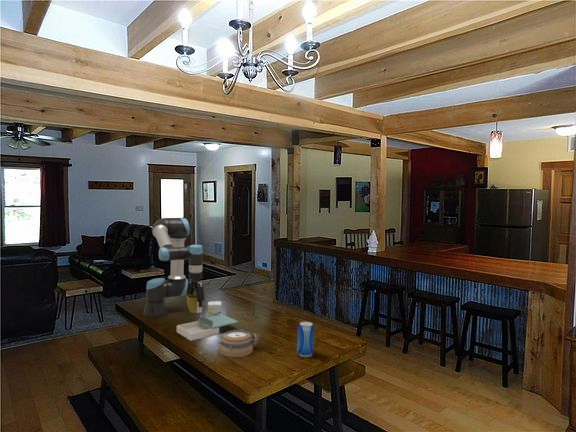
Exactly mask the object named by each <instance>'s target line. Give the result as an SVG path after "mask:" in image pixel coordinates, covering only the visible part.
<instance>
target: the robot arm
mask: <svg viewBox="0 0 576 432" xmlns="http://www.w3.org/2000/svg"><path fill="white" fill-rule="evenodd" d="M190 230H191V229H190V223H189V221H188V219H187V218H184V217H164V218H163V217H162V218H159V219H158V220H157V221H155V222H154V224H153V225H152V228H151V233H152V236H153V237H155V238H156V241H157V243H158V246H159V249H158V258H159V260H160V261H164V262H168V261H170V275H168V277H167V279H165V278H164V277H157V278H152V279H150V280H147V282H146V303H145V306H144V309H143V316H145V317H148V318H155V317H157V318H158V317H163V316H165V315H167V314H168V308H167V305H166V301H165V299H166V298H173V297H174V298H175V297H176V298H177V297H182V296H186V295H194V294H197V298H198V301H197V312H196V313H197V314H199V313H202V312H203V307H202V301H204V302H205V293H204V282H201V280H202V279H203V258H204V257H203V256H204V255H203V253H204V251H203V245H201V244H191V245H187V246H185V240H186V239H187V238H188V236H189V235H190V232H191V231H190ZM185 260H188V278H186V277H187V276H186V275H185V274H184V273H185V272H184V265H185ZM187 308H188V307H187ZM188 310H189V308H188Z"/></svg>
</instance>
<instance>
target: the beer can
mask: <svg viewBox="0 0 576 432" xmlns="http://www.w3.org/2000/svg"><path fill="white" fill-rule="evenodd" d="M296 340H297V345H296V348H297V349H296V352H297V354H298V356H299V357H301V358H310V357H312V356H313V354H314V353H315V352H314V351H315V349H314V348H315V327H314V323H312V322H310V321H301V322H299V325H298V327H297V339H296Z"/></svg>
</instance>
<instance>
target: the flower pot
mask: <svg viewBox="0 0 576 432" xmlns="http://www.w3.org/2000/svg"><path fill="white" fill-rule="evenodd" d="M185 296H186V305H187V308H189V309H188V310H189V312H190V313H191V314H193V313H197V301H198V298H197V294H196V293H194V294H193V295H186V294H185ZM204 302H205V300H204V301H202V308H203V306H204Z"/></svg>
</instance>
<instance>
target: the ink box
mask: <svg viewBox="0 0 576 432" xmlns="http://www.w3.org/2000/svg"><path fill="white" fill-rule="evenodd" d="M217 315H222V301H221V300H220V301H218V300H215V301H207V317H212V316H217Z"/></svg>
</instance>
